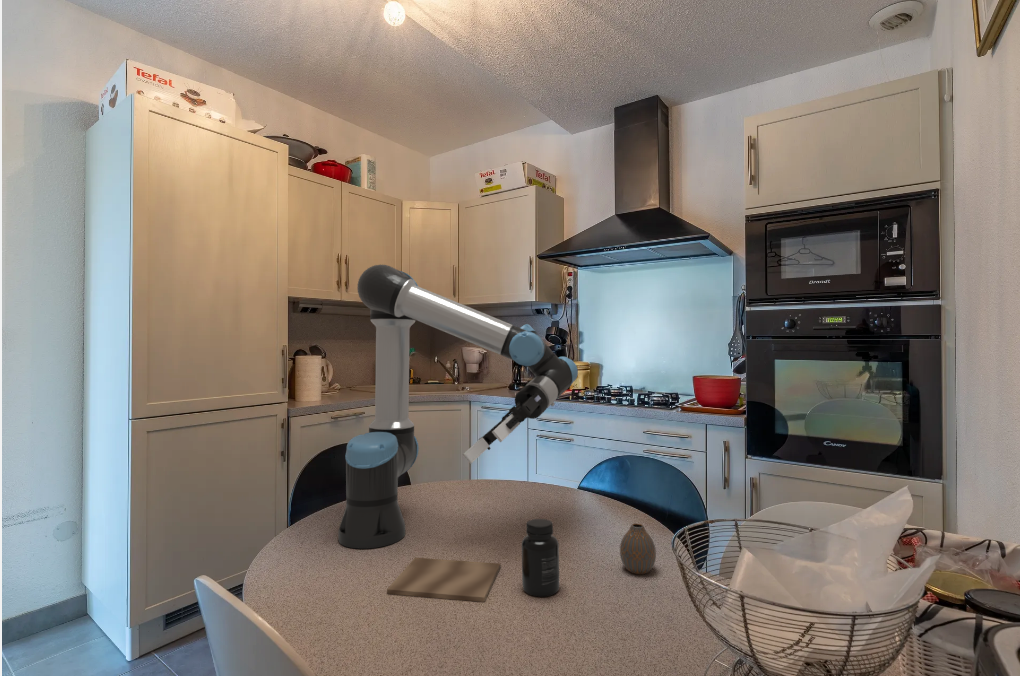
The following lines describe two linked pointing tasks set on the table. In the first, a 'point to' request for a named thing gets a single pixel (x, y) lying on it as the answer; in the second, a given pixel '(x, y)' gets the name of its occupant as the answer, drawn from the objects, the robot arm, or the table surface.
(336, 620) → the table surface
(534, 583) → the supplement bottle
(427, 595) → the board
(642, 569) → the vase
